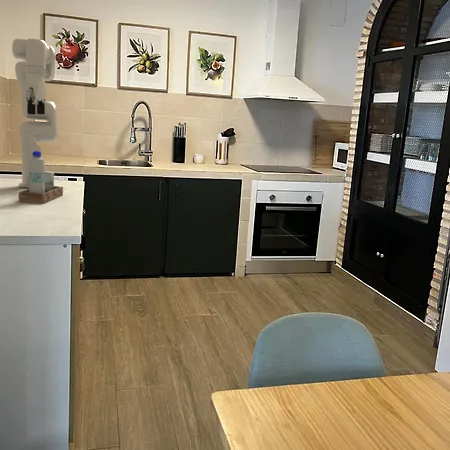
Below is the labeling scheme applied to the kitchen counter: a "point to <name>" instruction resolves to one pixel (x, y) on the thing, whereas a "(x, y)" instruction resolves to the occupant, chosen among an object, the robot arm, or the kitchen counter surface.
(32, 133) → the robot arm
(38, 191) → the bottle
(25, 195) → the wooden divided box
